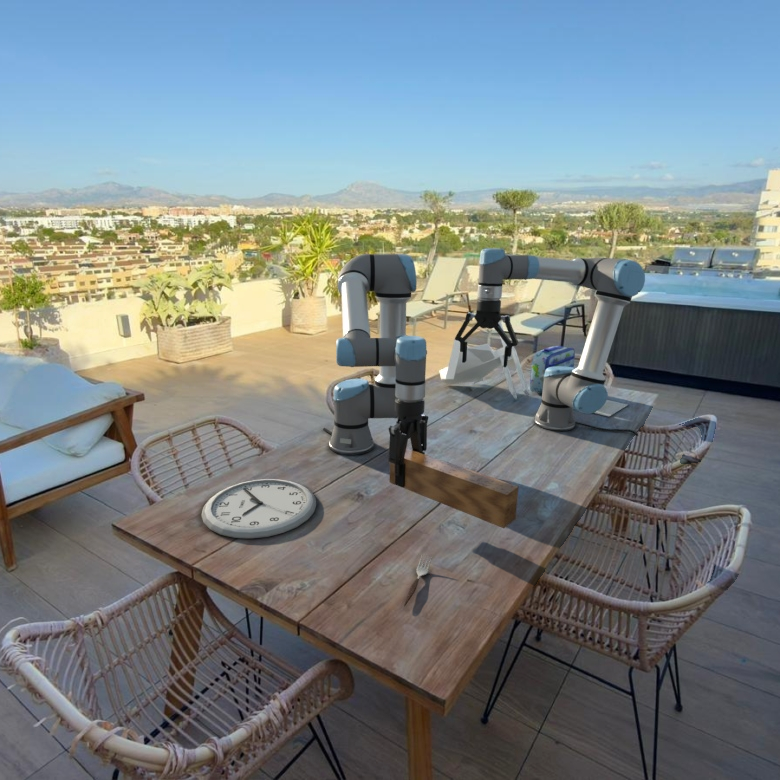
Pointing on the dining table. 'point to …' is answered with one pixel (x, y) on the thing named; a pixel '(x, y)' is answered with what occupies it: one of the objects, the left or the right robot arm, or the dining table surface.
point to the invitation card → (610, 408)
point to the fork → (420, 572)
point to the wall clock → (258, 508)
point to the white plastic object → (480, 365)
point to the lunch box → (549, 364)
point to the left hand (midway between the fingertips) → (407, 481)
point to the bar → (459, 488)
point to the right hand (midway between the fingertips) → (484, 364)
